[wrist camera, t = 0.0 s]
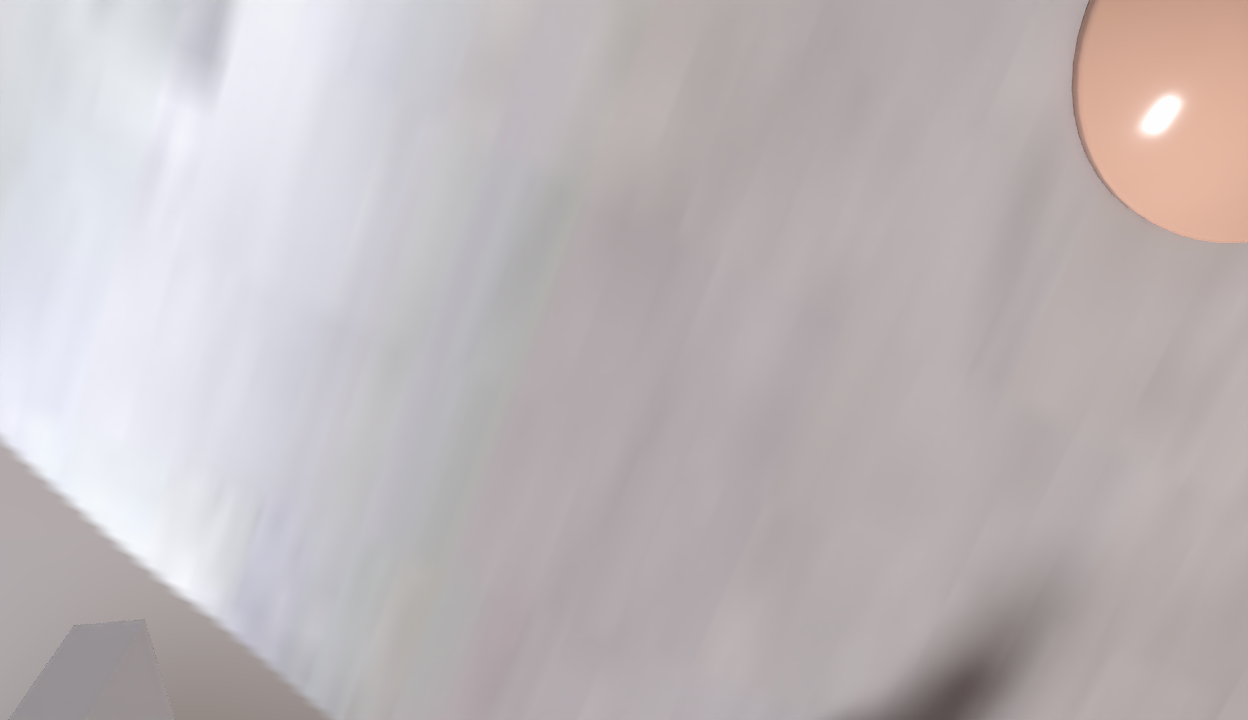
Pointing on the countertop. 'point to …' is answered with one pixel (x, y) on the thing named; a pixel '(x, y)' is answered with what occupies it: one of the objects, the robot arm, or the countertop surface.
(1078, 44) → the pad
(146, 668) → the robot arm
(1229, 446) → the countertop surface
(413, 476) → the countertop surface
